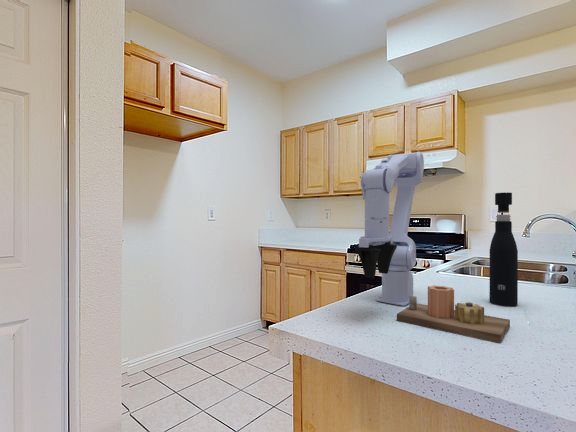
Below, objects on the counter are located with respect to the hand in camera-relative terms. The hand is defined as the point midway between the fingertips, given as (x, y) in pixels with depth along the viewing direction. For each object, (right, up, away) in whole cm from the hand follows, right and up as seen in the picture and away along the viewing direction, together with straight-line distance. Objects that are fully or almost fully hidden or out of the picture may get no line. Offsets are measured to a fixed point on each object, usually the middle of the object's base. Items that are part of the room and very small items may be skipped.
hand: (376, 275), depth 79 cm
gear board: (+15, -10, -7) cm, 19 cm away
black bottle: (+37, -10, +10) cm, 40 cm away
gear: (+13, -8, -5) cm, 16 cm away
